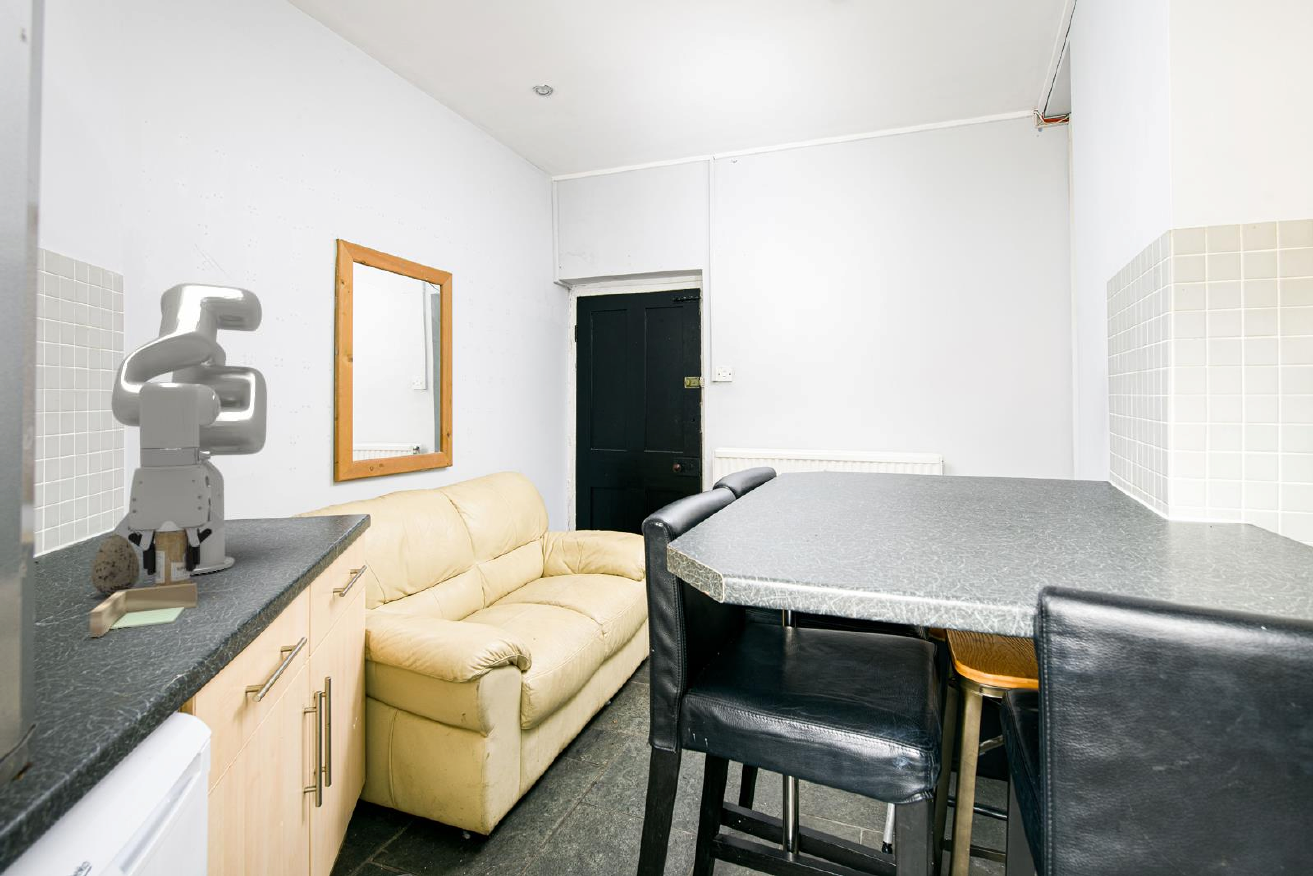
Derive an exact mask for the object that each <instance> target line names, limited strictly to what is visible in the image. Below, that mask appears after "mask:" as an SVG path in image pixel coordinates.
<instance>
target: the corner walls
mask: <svg viewBox="0 0 1313 876" xmlns="http://www.w3.org/2000/svg"><path fill="white" fill-rule="evenodd" d="M197 605H198V583H197V582H195V583H193V582H192V583H189V584H181V585H170V586H159V587H156V586H152V587H151V586H150V587H139V588H131V589H128V590H118V591H117V592H115V593H114V594H113V595H109V597H108V598H107V599H105V600H104V601H103V602H101V603H100V604H99V605H97V606H96V607H95V608H94V609H93V610H91V611H89V638H90V637H98V636H102V637H103V635H104V634H105V633H106V632H107V633H108V632H109V631H110V630H109V629H110V628H111V627H112V626H113V625H114V624H115V623H116V622H117V621H118V620H119V619H121V618H122V617H123V616H124V615H125V614H126V613H133V612H142V611H152V610H161V609H170V608H179V607H185V609H190V608H196V607H197ZM107 633H106V634H107ZM106 634H105V635H106ZM105 635H104V636H105ZM98 638H99V637H98Z"/></svg>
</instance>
